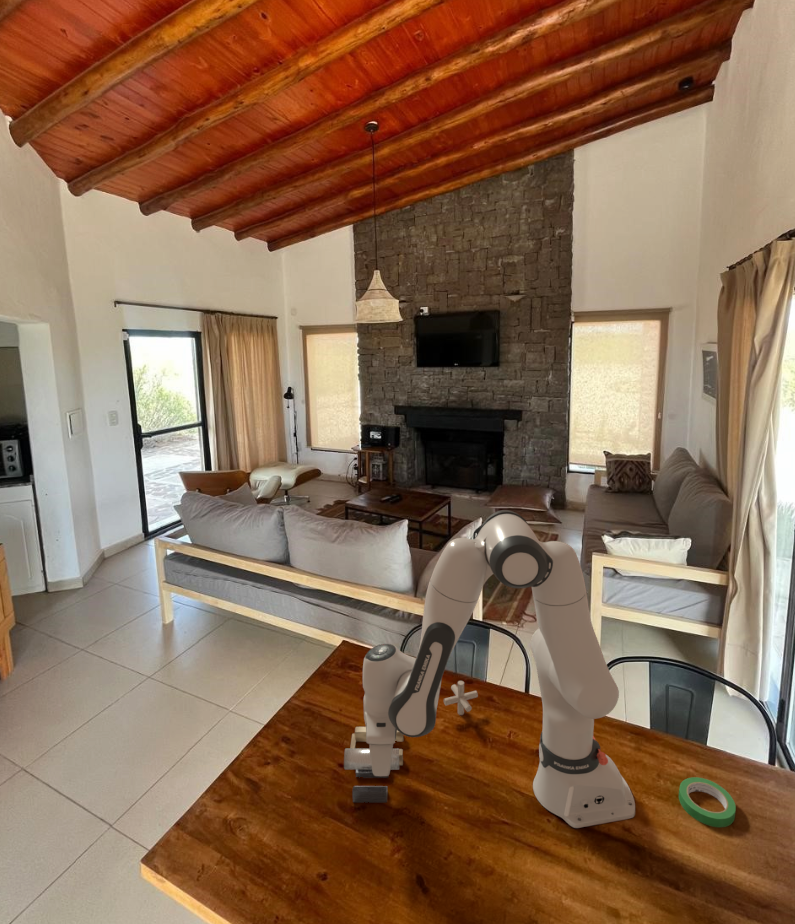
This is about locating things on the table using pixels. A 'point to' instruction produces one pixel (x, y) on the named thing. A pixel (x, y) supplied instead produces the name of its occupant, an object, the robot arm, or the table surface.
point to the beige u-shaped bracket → (361, 737)
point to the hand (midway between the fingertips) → (384, 760)
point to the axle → (366, 758)
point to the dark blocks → (369, 789)
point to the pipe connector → (461, 698)
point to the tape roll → (702, 814)
